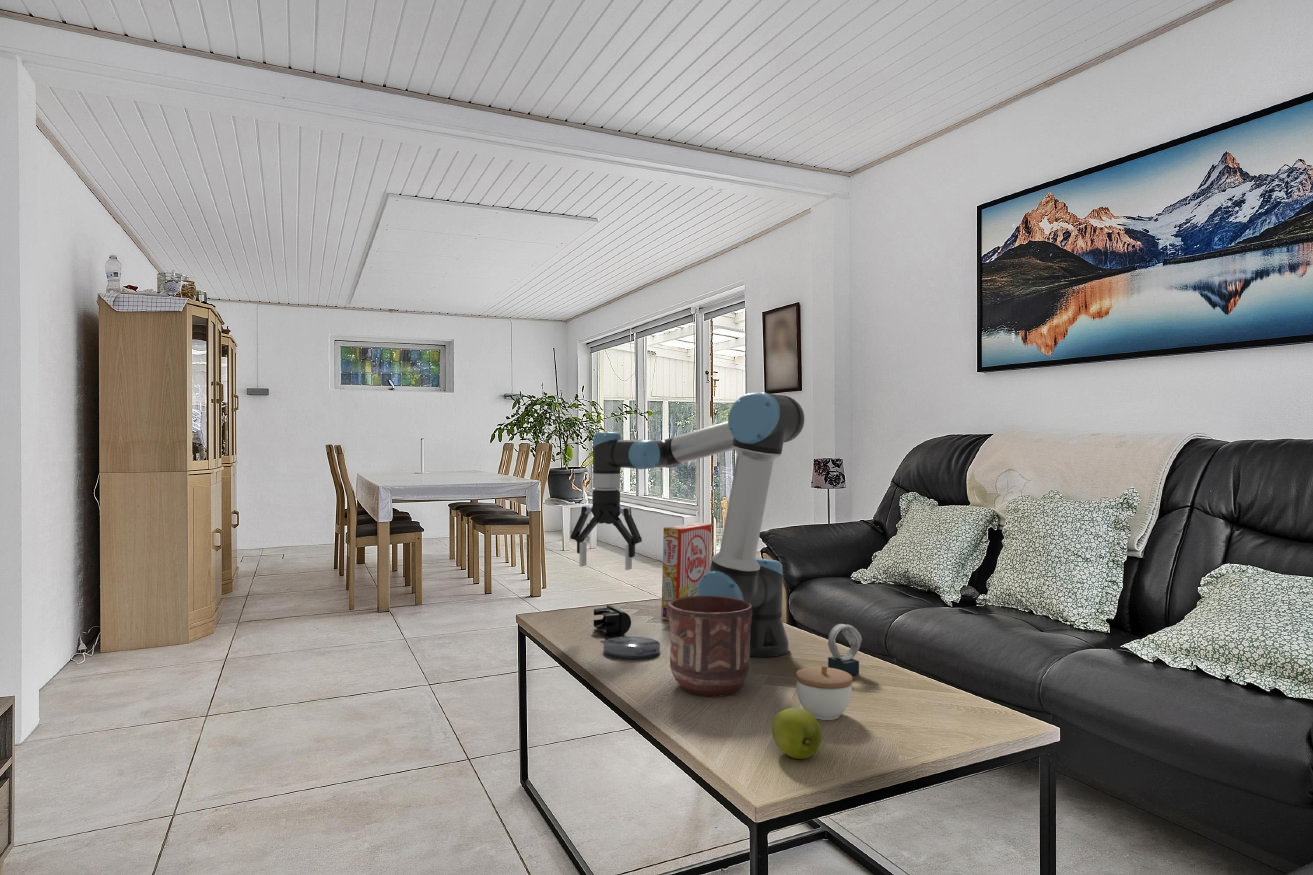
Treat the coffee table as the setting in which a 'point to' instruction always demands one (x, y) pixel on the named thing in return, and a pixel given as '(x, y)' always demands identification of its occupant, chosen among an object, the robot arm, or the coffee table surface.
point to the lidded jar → (824, 691)
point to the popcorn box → (684, 561)
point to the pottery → (710, 643)
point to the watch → (846, 661)
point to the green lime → (796, 732)
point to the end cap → (611, 622)
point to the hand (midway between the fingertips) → (605, 567)
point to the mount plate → (631, 648)
